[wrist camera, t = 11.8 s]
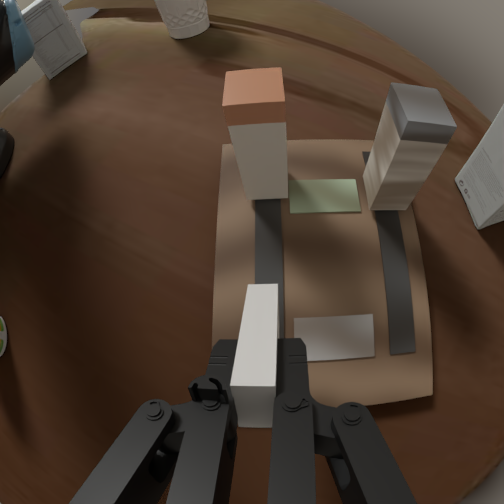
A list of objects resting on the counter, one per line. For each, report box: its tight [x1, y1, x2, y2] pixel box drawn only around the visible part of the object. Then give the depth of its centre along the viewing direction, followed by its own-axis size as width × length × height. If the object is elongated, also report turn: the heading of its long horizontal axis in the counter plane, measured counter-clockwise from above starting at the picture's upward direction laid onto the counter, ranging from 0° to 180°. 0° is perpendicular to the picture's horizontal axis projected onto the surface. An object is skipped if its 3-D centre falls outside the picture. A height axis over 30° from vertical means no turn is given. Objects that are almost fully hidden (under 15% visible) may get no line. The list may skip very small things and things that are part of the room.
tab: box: [222, 67, 288, 200], centre depth 19 cm, size 3×3×10 cm
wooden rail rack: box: [212, 83, 457, 408], centre depth 18 cm, size 22×16×12 cm
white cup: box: [154, 0, 210, 39], centre depth 34 cm, size 8×8×10 cm
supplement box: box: [21, 0, 87, 80], centre depth 36 cm, size 10×9×17 cm
